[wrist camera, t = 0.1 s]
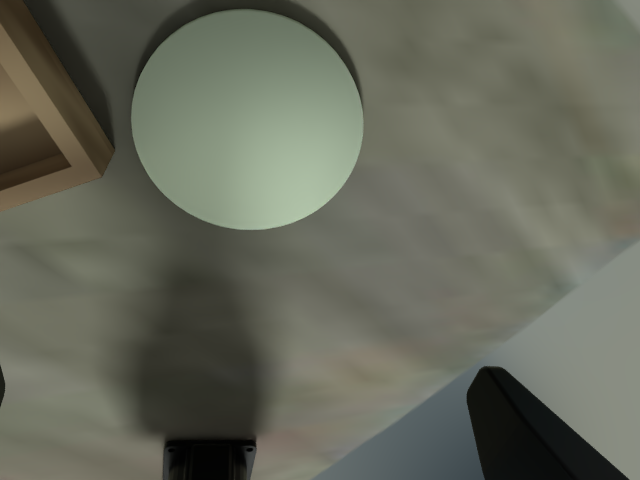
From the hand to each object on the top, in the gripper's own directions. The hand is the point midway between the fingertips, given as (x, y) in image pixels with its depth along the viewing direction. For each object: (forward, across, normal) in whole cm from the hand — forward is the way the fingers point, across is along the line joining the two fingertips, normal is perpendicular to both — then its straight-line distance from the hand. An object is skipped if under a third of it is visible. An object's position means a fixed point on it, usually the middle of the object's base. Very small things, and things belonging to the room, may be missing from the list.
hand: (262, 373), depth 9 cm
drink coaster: (+15, 0, +1) cm, 15 cm away
